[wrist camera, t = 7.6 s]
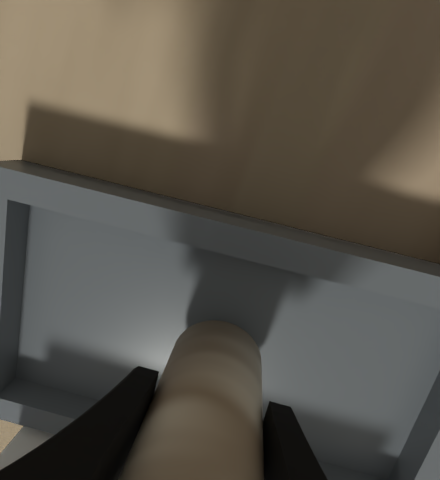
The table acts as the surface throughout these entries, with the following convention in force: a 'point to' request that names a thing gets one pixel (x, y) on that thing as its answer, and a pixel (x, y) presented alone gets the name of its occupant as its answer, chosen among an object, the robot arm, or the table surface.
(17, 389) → the tray
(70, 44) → the table surface
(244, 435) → the dowel
